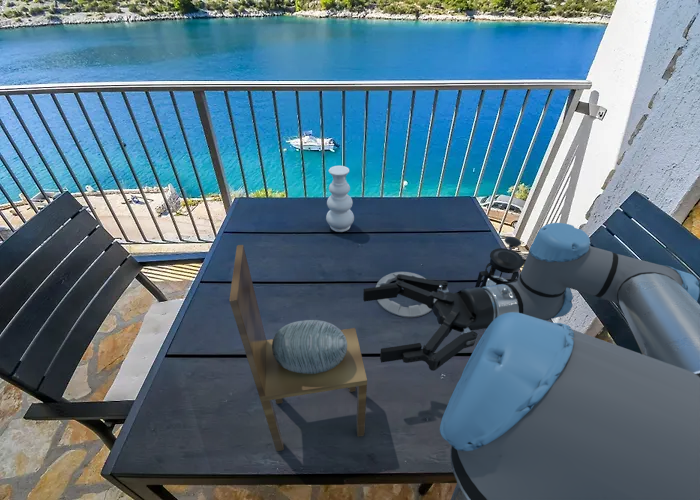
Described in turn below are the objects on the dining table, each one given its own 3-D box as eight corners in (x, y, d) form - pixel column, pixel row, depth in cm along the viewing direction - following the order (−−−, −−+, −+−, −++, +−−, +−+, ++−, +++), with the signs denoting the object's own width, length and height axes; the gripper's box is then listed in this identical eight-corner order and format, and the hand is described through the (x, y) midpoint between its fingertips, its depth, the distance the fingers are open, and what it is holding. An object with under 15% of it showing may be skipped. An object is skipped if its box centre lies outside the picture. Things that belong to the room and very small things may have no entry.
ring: (401, 327, 99) (402, 323, 98) (363, 287, 112) (363, 282, 111) (450, 300, 107) (451, 296, 106) (409, 265, 120) (410, 261, 119)
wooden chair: (364, 435, 76) (372, 283, 48) (276, 451, 74) (228, 300, 45) (354, 385, 85) (356, 233, 57) (276, 397, 83) (236, 245, 54)
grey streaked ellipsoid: (267, 375, 64) (272, 370, 55) (271, 324, 68) (276, 311, 59) (339, 376, 68) (354, 371, 59) (339, 327, 72) (353, 316, 63)
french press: (501, 287, 112) (523, 229, 98) (515, 309, 104) (541, 249, 90) (466, 290, 111) (483, 231, 97) (478, 313, 103) (498, 253, 89)
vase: (356, 221, 142) (357, 164, 126) (350, 237, 134) (350, 177, 118) (330, 218, 144) (328, 161, 128) (323, 233, 136) (319, 174, 120)
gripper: (460, 249, 71) (358, 261, 68) (530, 351, 52) (392, 373, 49) (453, 276, 76) (357, 288, 73) (515, 379, 56) (388, 401, 54)
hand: (371, 322), depth 61 cm, fingers open, 13 cm apart
